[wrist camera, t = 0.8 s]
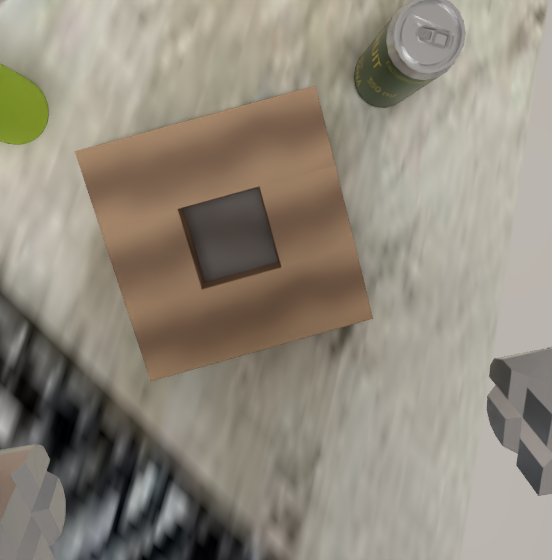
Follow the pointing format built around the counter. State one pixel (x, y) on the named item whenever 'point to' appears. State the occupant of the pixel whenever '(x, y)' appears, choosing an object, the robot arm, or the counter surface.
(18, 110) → the soap dispenser
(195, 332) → the socket board
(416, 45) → the beer can
